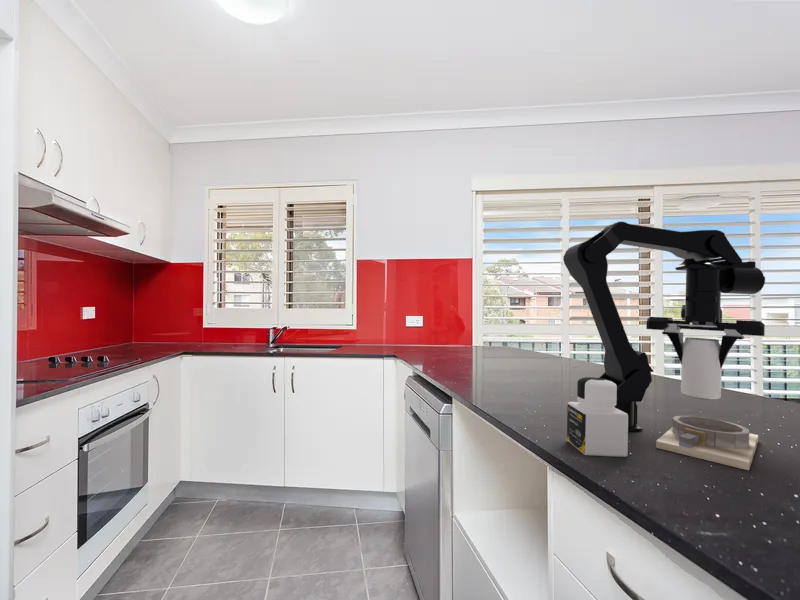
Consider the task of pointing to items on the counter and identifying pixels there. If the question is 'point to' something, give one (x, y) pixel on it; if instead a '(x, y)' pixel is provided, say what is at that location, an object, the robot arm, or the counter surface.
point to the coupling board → (710, 440)
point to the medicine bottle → (597, 419)
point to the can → (701, 368)
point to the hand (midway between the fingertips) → (700, 367)
